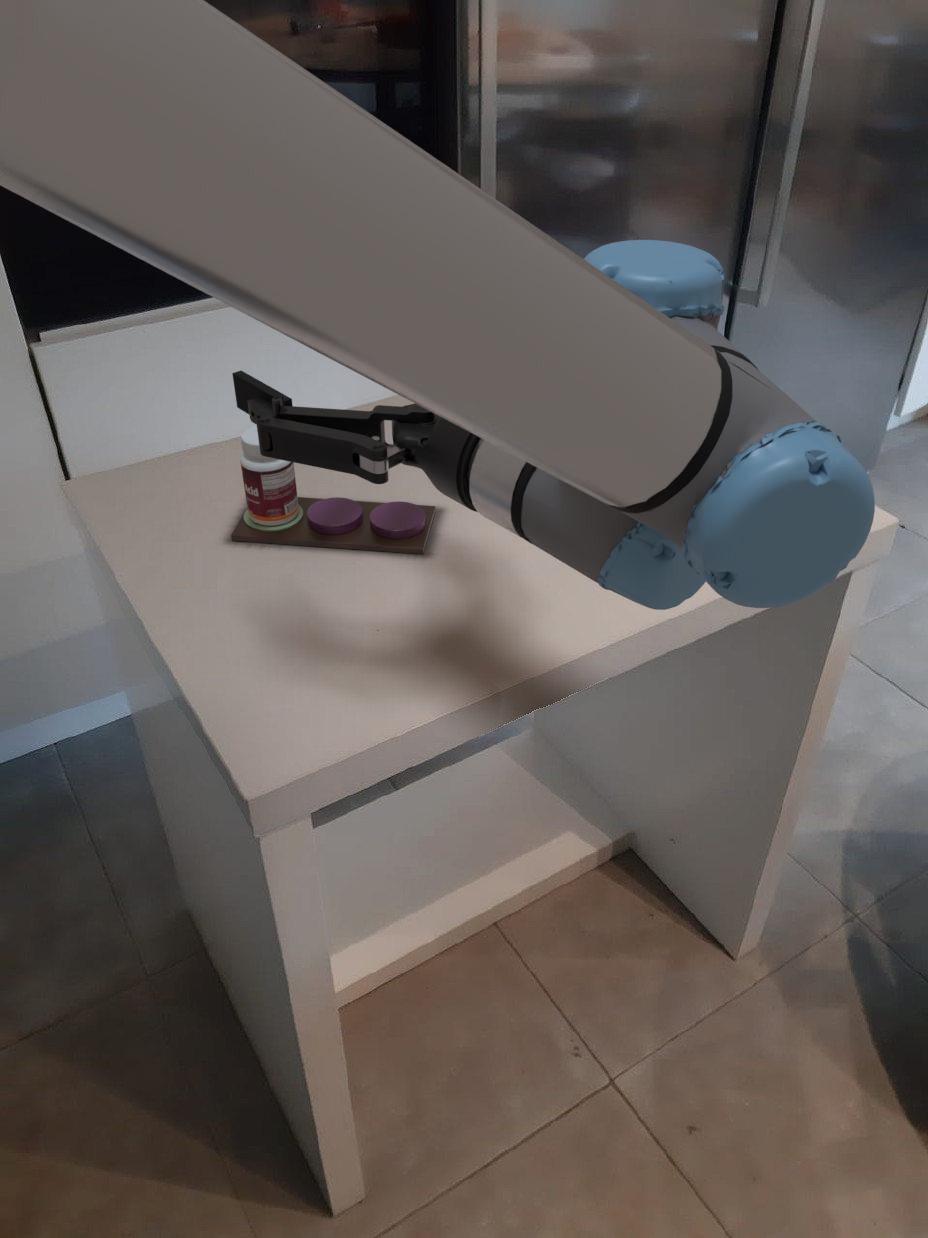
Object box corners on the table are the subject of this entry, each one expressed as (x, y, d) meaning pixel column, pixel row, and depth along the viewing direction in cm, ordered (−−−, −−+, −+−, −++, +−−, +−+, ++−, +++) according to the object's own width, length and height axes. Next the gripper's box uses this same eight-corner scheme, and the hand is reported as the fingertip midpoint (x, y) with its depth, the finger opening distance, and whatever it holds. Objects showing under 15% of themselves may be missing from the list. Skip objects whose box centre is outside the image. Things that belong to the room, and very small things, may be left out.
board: (231, 540, 91) (229, 526, 90) (255, 499, 97) (253, 485, 96) (423, 554, 89) (422, 539, 88) (435, 511, 95) (435, 496, 94)
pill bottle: (242, 508, 94) (229, 428, 89) (289, 496, 96) (279, 418, 91) (257, 532, 91) (245, 450, 86) (306, 519, 92) (297, 439, 87)
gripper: (356, 583, 59) (179, 458, 72) (622, 454, 73) (435, 367, 85) (348, 473, 55) (160, 360, 67) (634, 358, 68) (434, 281, 81)
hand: (313, 364), depth 76 cm, fingers open, 13 cm apart
